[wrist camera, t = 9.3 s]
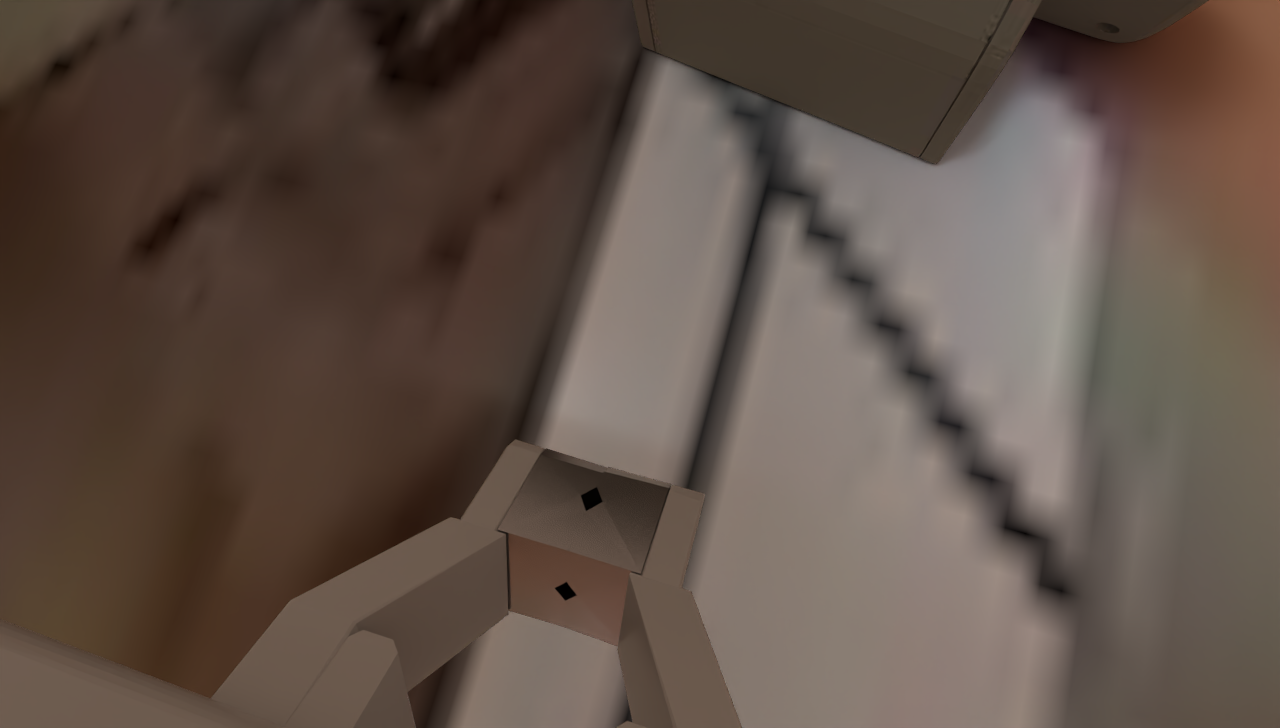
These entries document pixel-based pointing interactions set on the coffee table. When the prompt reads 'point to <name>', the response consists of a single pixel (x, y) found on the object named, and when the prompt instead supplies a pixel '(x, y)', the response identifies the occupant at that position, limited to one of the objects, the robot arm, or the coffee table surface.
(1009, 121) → the coffee table surface
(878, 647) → the coffee table surface
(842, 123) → the digital clock
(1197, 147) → the coffee table surface
